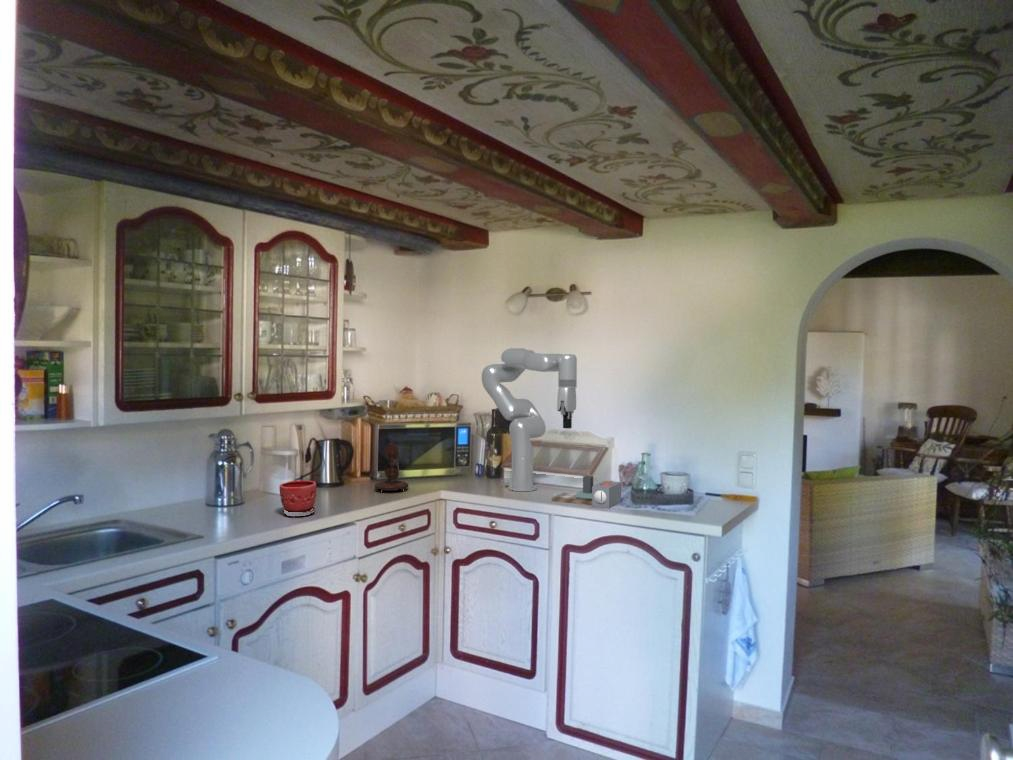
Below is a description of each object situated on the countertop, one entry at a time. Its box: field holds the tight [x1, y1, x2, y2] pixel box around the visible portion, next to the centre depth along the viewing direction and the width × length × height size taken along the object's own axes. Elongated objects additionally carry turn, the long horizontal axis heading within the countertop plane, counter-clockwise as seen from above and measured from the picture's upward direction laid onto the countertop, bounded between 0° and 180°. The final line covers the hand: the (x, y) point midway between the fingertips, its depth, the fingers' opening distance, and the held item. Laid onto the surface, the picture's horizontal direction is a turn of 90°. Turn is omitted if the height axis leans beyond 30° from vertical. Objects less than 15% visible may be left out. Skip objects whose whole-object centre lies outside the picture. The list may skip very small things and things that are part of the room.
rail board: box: [551, 491, 592, 506], centre depth 293 cm, size 18×9×2 cm, turn 62°
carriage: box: [575, 475, 594, 499], centre depth 291 cm, size 7×8×8 cm
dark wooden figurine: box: [374, 443, 409, 491], centre depth 315 cm, size 15×15×20 cm
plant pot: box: [279, 479, 317, 513], centre depth 268 cm, size 13×13×12 cm
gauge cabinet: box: [591, 480, 622, 509], centre depth 287 cm, size 7×15×8 cm, turn 152°
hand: (567, 428), depth 299 cm, fingers closed
